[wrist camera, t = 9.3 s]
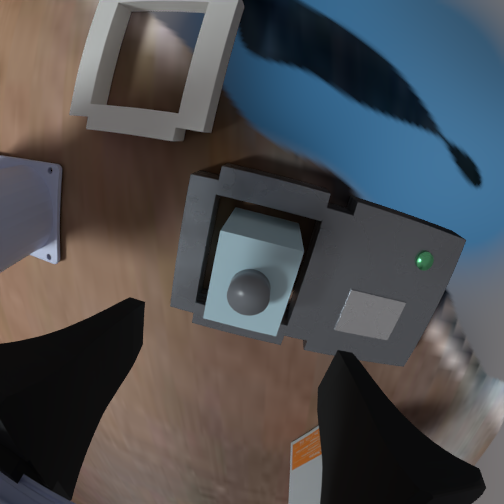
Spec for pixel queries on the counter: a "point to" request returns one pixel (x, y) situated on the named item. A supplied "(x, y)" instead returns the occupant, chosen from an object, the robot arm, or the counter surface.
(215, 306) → the plug
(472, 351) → the counter surface
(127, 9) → the white flat square frame
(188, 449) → the counter surface
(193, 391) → the counter surface
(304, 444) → the skincare box
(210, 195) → the port dock
